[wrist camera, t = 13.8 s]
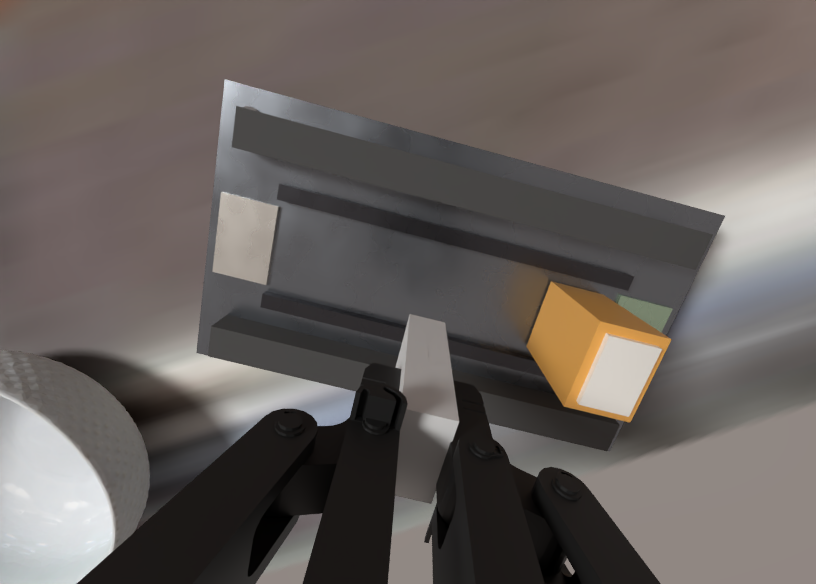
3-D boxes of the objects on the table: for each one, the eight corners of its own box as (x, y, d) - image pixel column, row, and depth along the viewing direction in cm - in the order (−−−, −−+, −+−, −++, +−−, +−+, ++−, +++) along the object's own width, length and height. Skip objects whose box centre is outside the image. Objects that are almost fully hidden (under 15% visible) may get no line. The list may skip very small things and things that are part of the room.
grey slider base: (250, 91, 22) (218, 76, 18) (687, 210, 23) (734, 217, 20) (221, 333, 26) (190, 357, 23) (589, 422, 27) (614, 457, 24)
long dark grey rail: (252, 111, 19) (236, 105, 18) (688, 229, 20) (713, 234, 19) (247, 149, 20) (231, 147, 18) (672, 262, 21) (695, 269, 19)
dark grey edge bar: (227, 314, 22) (211, 326, 21) (605, 406, 24) (620, 425, 22) (223, 342, 23) (207, 356, 21) (593, 431, 24) (607, 451, 22)
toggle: (551, 281, 21) (603, 324, 15) (603, 294, 21) (676, 342, 15) (526, 346, 22) (566, 410, 16) (576, 358, 22) (633, 427, 16)
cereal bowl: (196, 355, 27) (121, 418, 20) (177, 536, 32) (111, 636, 25) (-59, 295, 26) (-228, 338, 19) (-39, 490, 31) (-168, 580, 24)
